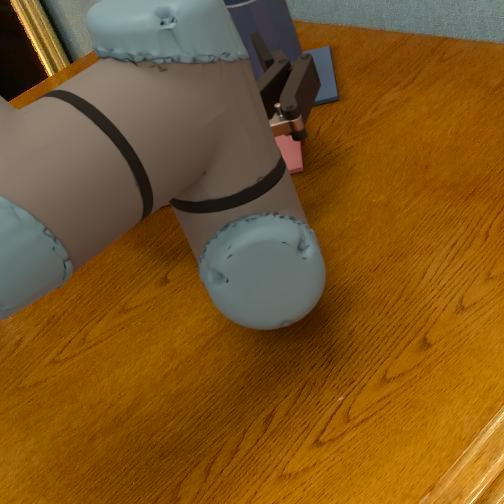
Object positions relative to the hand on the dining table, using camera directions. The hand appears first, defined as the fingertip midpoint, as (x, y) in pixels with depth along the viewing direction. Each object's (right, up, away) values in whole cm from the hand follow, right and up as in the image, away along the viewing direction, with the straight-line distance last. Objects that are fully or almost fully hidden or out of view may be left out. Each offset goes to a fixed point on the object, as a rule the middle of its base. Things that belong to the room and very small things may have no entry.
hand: (186, 72), depth 85 cm
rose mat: (+2, -7, +3) cm, 8 cm away
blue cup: (+4, +4, +12) cm, 13 cm away
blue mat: (+4, +4, +12) cm, 13 cm away
